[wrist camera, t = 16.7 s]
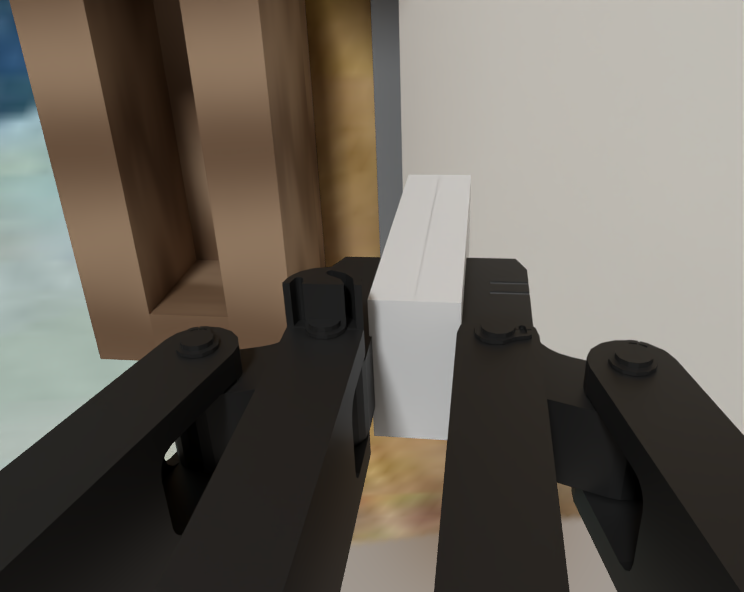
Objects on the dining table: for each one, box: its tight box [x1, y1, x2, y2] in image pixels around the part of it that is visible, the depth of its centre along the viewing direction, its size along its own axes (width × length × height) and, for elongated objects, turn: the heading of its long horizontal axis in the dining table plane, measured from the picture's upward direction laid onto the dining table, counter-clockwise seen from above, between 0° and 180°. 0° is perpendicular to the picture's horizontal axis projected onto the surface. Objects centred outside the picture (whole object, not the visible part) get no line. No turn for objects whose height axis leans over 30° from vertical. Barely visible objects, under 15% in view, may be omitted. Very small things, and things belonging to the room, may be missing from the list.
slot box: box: [9, 0, 326, 360], centre depth 26 cm, size 16×8×6 cm, turn 2°
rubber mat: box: [371, 0, 403, 258], centre depth 26 cm, size 16×20×1 cm
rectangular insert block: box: [399, 0, 744, 435], centre depth 21 cm, size 11×2×15 cm
